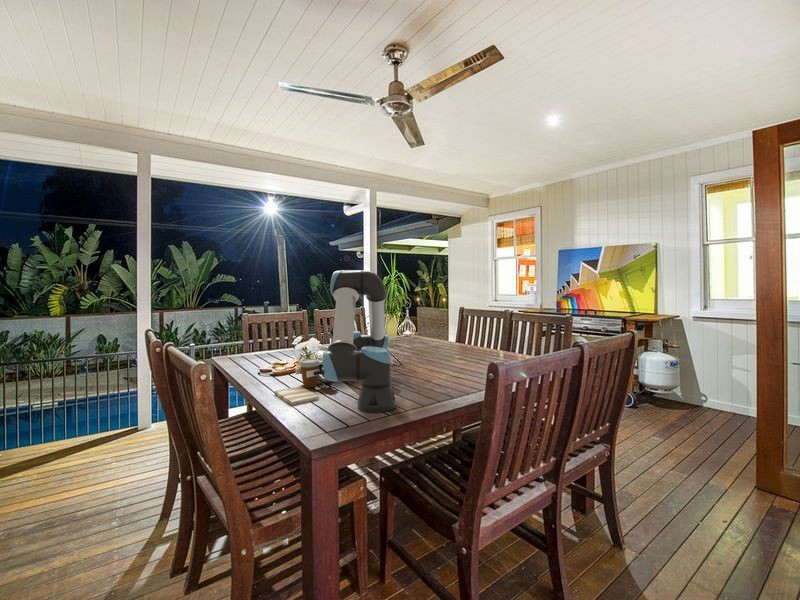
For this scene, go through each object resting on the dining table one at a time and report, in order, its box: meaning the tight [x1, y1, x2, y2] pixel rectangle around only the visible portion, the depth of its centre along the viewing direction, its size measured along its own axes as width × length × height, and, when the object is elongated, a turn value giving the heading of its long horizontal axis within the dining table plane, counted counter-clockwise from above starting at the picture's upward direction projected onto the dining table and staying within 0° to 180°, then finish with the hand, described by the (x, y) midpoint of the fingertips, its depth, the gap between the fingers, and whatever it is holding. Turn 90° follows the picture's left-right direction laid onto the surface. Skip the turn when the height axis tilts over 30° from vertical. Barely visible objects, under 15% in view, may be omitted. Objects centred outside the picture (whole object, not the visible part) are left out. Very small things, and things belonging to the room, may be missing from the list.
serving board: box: [274, 385, 320, 406], centre depth 164 cm, size 19×12×2 cm, turn 38°
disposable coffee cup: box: [298, 358, 321, 388], centre depth 181 cm, size 10×10×12 cm
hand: (301, 373), depth 177 cm, fingers closed on disposable coffee cup, 8 cm apart
